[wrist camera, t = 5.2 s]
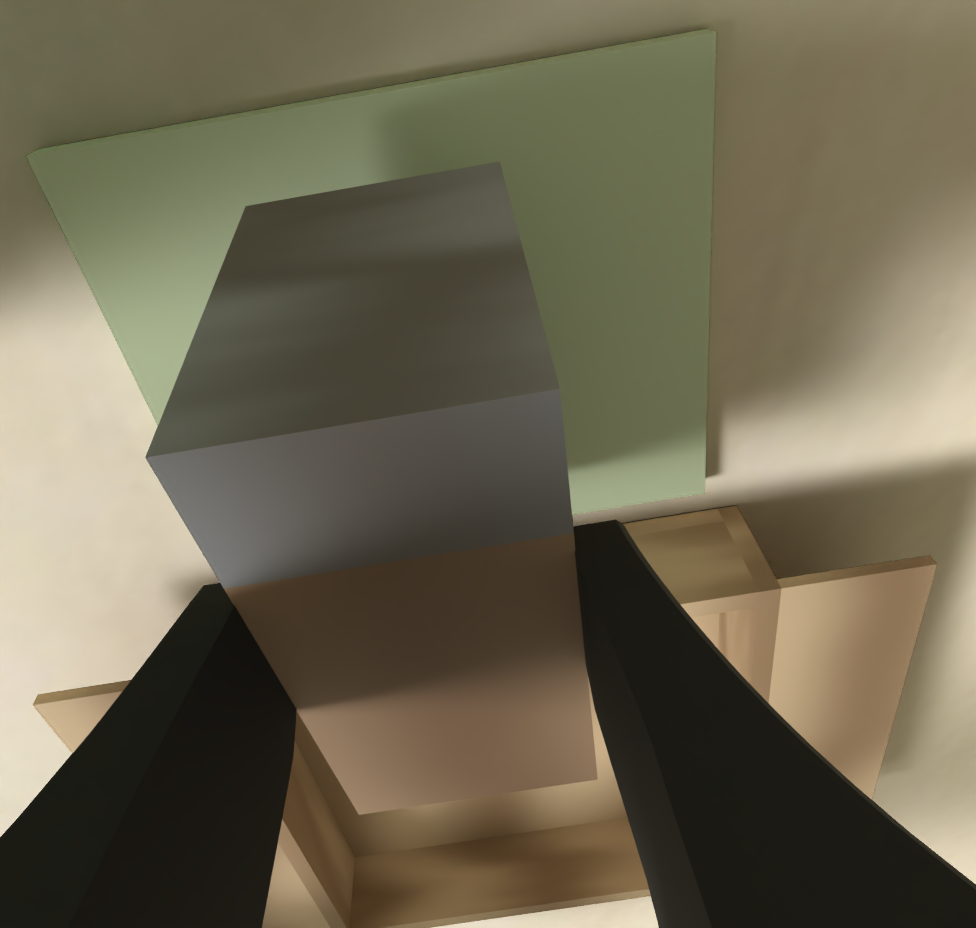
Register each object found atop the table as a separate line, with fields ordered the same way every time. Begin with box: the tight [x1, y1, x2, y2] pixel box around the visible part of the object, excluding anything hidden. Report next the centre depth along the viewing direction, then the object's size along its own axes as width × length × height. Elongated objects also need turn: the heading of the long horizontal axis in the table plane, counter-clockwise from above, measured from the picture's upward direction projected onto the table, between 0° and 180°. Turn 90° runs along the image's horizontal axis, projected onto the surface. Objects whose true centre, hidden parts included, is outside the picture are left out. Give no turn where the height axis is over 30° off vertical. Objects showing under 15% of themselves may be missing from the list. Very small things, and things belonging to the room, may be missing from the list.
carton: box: [33, 506, 937, 928], centre depth 22 cm, size 21×14×3 cm, turn 99°
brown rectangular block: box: [145, 162, 598, 815], centre depth 12 cm, size 4×8×6 cm, turn 9°
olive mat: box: [26, 29, 717, 515], centre depth 16 cm, size 12×10×1 cm
